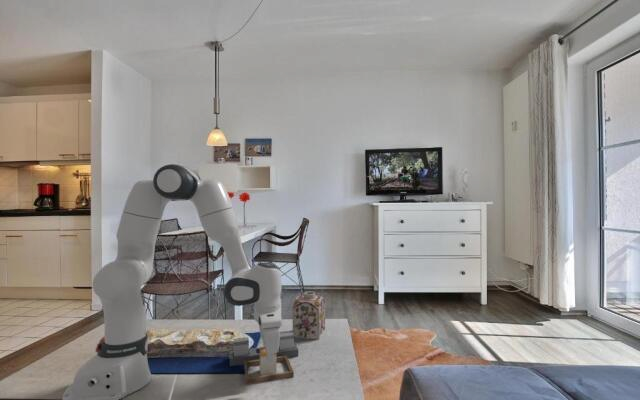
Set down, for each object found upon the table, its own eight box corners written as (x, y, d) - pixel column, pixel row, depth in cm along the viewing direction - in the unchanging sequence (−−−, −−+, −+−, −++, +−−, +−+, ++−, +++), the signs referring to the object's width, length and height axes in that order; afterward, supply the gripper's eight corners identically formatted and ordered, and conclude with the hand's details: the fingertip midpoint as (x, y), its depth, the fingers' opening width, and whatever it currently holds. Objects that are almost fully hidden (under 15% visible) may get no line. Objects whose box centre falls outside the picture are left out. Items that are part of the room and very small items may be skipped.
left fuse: (233, 363, 110) (233, 342, 110) (233, 359, 112) (233, 339, 113) (248, 361, 111) (248, 340, 111) (248, 357, 114) (248, 337, 114)
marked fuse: (260, 376, 102) (260, 353, 102) (259, 371, 105) (259, 349, 105) (276, 373, 104) (276, 351, 104) (274, 369, 107) (274, 347, 107)
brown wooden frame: (246, 387, 97) (246, 379, 97) (243, 369, 108) (243, 361, 108) (293, 380, 101) (293, 372, 101) (286, 362, 112) (286, 355, 112)
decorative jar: (325, 331, 140) (325, 290, 141) (319, 342, 129) (319, 297, 129) (299, 328, 143) (299, 288, 143) (291, 339, 132) (291, 295, 132)
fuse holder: (230, 369, 108) (230, 358, 108) (229, 361, 113) (229, 351, 113) (298, 359, 115) (298, 349, 115) (294, 352, 120) (294, 342, 120)
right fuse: (280, 357, 114) (280, 336, 114) (278, 353, 117) (278, 333, 117) (294, 355, 116) (293, 335, 116) (292, 351, 119) (292, 332, 119)
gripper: (255, 304, 114) (255, 343, 114) (261, 325, 94) (261, 372, 94) (272, 302, 116) (272, 341, 115) (283, 322, 96) (282, 369, 96)
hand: (267, 355), depth 105 cm, fingers open, 7 cm apart
